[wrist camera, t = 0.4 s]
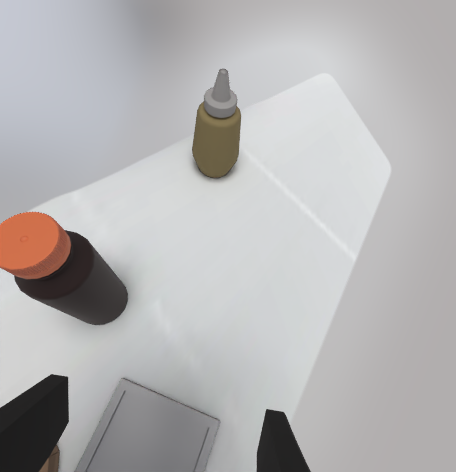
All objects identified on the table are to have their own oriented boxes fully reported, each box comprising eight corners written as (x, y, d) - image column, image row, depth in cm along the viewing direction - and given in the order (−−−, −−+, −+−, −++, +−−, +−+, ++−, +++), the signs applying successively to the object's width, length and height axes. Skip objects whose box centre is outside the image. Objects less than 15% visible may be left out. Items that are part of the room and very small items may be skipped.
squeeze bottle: (200, 188, 48) (203, 97, 32) (186, 153, 52) (183, 55, 35) (242, 177, 51) (264, 87, 34) (226, 145, 54) (240, 49, 37)
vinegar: (137, 287, 40) (91, 219, 22) (111, 333, 37) (33, 298, 19) (95, 269, 40) (16, 189, 22) (66, 313, 37) (-52, 261, 19)
